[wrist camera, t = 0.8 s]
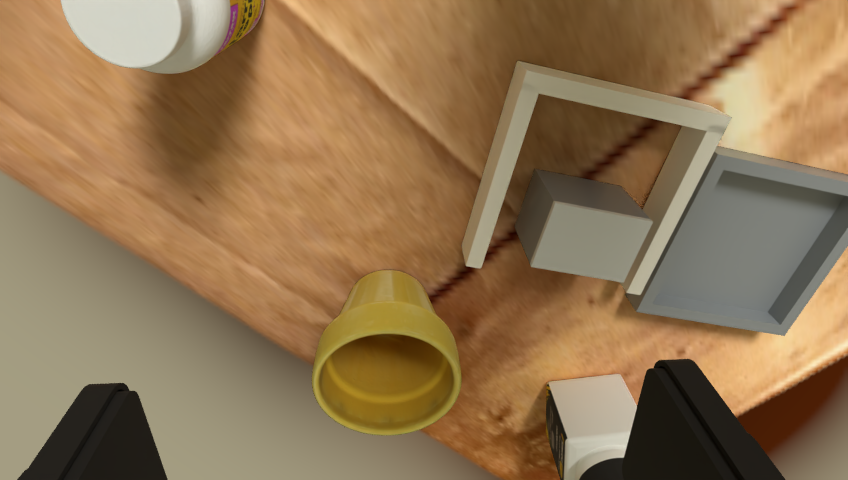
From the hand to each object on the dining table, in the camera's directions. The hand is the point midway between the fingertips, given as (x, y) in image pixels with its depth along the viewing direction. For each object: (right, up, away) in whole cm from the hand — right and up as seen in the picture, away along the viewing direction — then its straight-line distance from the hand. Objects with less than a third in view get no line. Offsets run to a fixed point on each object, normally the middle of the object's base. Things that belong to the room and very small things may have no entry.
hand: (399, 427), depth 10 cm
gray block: (+12, +6, +32) cm, 34 cm away
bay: (+12, +8, +31) cm, 34 cm away
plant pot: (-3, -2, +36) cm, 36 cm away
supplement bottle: (-12, +19, +23) cm, 33 cm away
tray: (+26, +4, +34) cm, 43 cm away
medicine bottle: (+16, -12, +43) cm, 47 cm away
